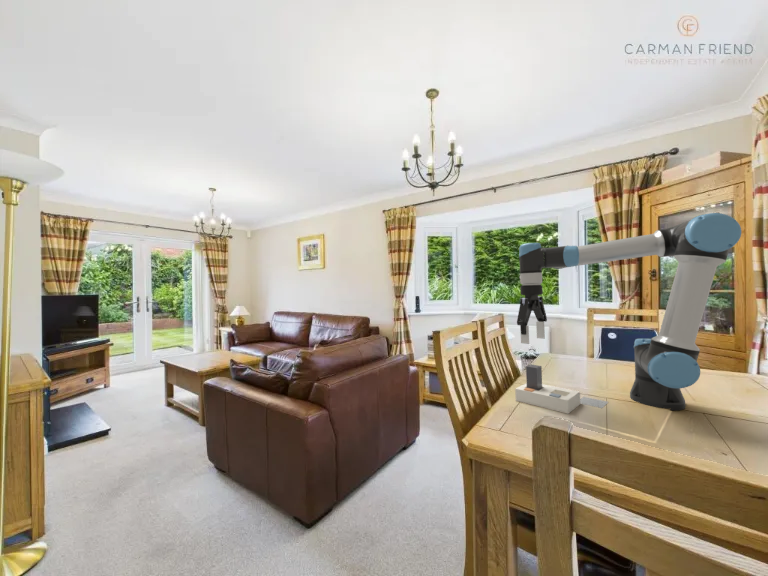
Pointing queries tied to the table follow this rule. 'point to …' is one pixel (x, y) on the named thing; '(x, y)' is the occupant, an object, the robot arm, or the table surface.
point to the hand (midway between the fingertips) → (533, 340)
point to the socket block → (549, 397)
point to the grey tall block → (534, 377)
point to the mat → (593, 402)
